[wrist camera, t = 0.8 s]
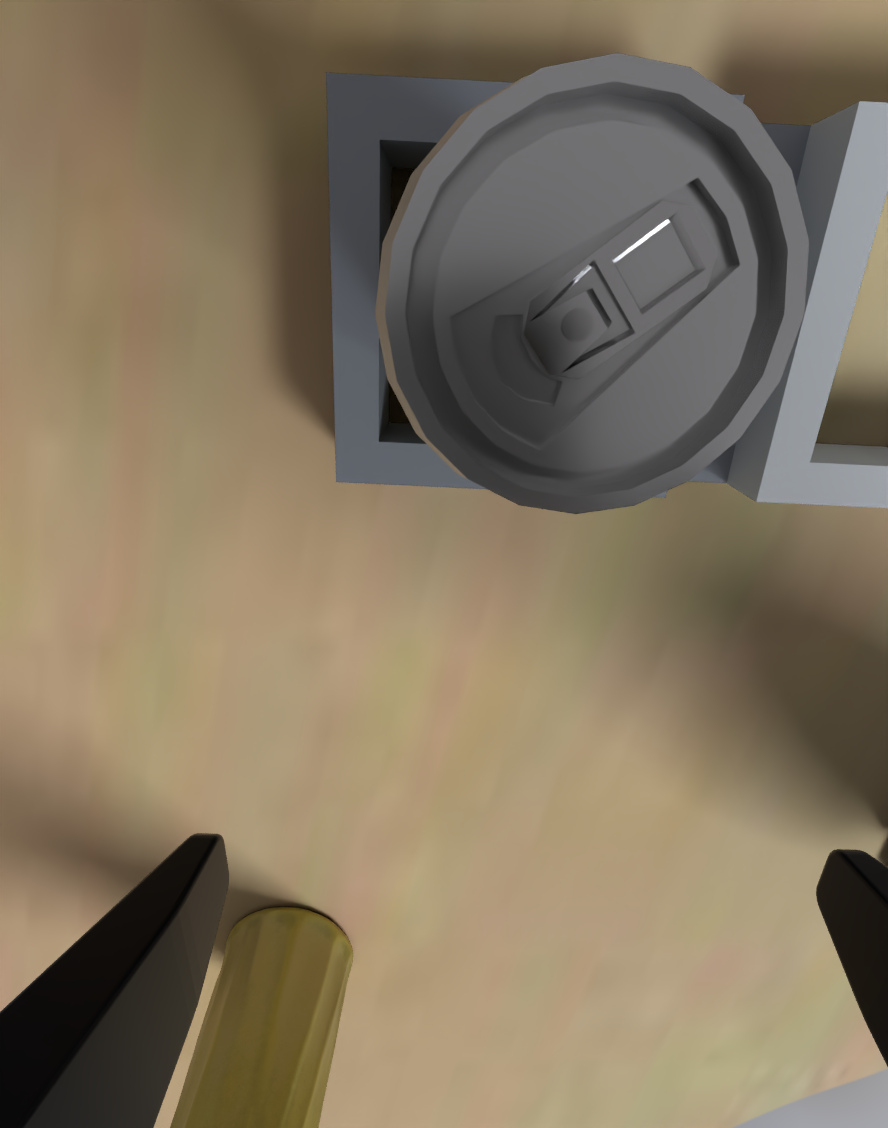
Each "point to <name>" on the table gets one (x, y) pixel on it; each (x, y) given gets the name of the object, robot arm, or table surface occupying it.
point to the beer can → (593, 283)
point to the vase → (269, 1025)
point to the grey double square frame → (796, 407)
